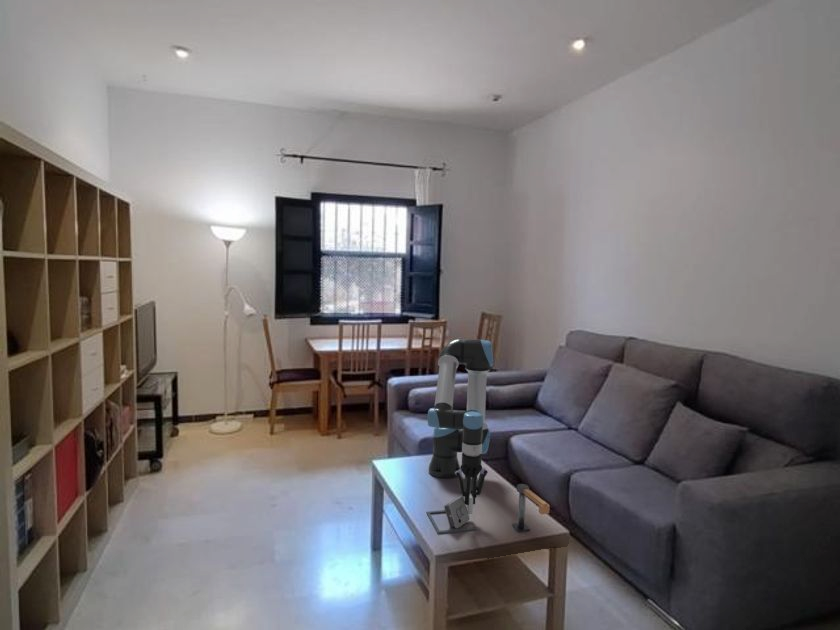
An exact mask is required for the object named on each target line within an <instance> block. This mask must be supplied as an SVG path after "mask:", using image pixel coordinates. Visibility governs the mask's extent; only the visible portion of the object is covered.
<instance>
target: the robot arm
mask: <svg viewBox="0 0 840 630" xmlns="http://www.w3.org/2000/svg"><path fill="white" fill-rule="evenodd" d="M492 344H493V343H492V342H491V341H490V340H486V339H485V340H484V339H474V338H473V339H471V338H470V339H468V338H467V339H466V338H465V339H463V338H456V339H454V340H451V341H450V342H448V343H447V344H446V345H445V346H444V347H443V348H442V349H441V351H440V352H439V355H438V360H437V366H439V368H438V377H437V384H436V392H435V399H434V406H433V407H432V408H429V409H428V411H427V425H428V427H430V428H433V434H432V437H433V440H432V441H433V443H432V457H431V460H430V462H429V466H428V473H429V474H430V475H431V476H432V477H435V478H440V479H452V478H456V477H457V478H456V479H457V483H458V488H459V493H460V495H461V496H463V497H464V501H465V504H466V508H467V511H468V514H469V515H473V508H474V505H476V498H477V496H480V495H481V493H482V490H483V489H482V488H483V486H484V481H485V478H486V476H487V474H488V470H487V469H486V468H485V467H483V466H482V458H483V457H482V456H483V455H484V454H487V452H488V449H489V446H490V445H489V444H490V439H491V438H490V437H491V429H490V428H489V427H488V426H489V425H488V424H487V422H485V420H486V419H485V418H486V400H487V396H486V395H487V379H488V375H487V374H488V373H489V372H490V371H491V367H494V354H493V345H492ZM459 365H464V366H465V367H464V369H465V370H466V372H467V396H466V397H467V398H466V399H467V400H466V410H461V409H460V410H459V409H453V406H454V395H455V388H456V387H455V386H456V376H457V369H458V367H459ZM458 453H461V465H460V461H459V459H458ZM462 475H464V478H465V479H464V483H463V478H462Z"/></svg>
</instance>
